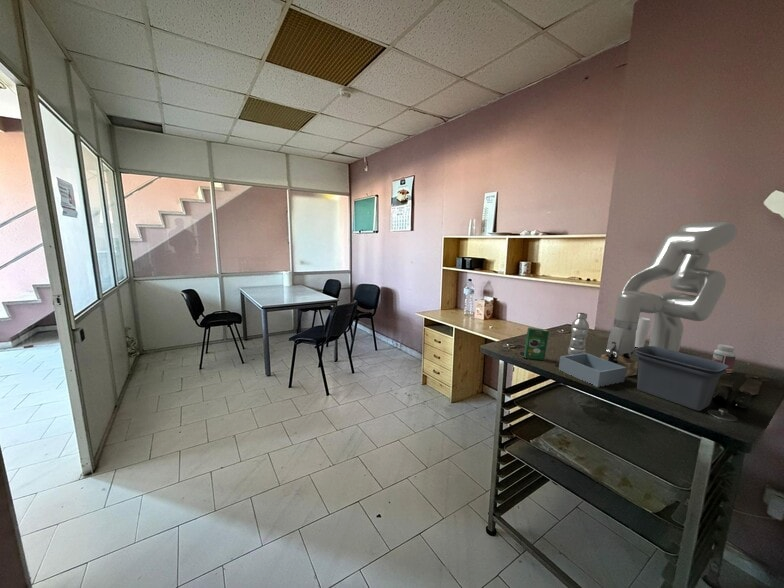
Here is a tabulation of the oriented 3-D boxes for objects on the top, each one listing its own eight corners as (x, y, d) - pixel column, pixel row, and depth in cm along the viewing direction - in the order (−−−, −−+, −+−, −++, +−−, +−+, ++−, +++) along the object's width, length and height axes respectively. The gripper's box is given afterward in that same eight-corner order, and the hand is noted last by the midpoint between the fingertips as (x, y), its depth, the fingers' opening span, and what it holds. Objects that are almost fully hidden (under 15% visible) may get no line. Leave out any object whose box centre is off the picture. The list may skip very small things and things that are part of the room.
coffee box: (543, 358, 135) (547, 328, 132) (545, 360, 132) (549, 330, 130) (523, 356, 136) (527, 327, 134) (524, 358, 133) (528, 328, 131)
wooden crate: (610, 364, 131) (612, 353, 130) (636, 374, 122) (638, 362, 121) (599, 366, 128) (600, 355, 127) (625, 376, 119) (627, 364, 118)
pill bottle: (730, 371, 130) (736, 346, 128) (732, 376, 125) (739, 349, 123) (709, 367, 134) (714, 342, 132) (710, 371, 129) (716, 345, 127)
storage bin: (623, 387, 109) (630, 348, 107) (644, 379, 117) (651, 343, 115) (706, 418, 91) (717, 372, 89) (724, 407, 99) (734, 364, 97)
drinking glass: (646, 350, 152) (651, 320, 150) (628, 347, 156) (634, 318, 153) (644, 347, 158) (650, 318, 155) (627, 344, 162) (633, 315, 159)
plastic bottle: (587, 361, 134) (595, 315, 130) (571, 360, 134) (578, 314, 130) (579, 355, 140) (585, 312, 137) (563, 355, 140) (570, 311, 137)
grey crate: (583, 365, 128) (585, 352, 127) (624, 381, 114) (626, 367, 113) (558, 369, 123) (560, 356, 122) (597, 387, 109) (600, 372, 108)
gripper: (628, 320, 128) (621, 362, 131) (600, 323, 122) (594, 367, 125) (649, 325, 122) (641, 369, 125) (621, 328, 115) (613, 374, 118)
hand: (617, 367), depth 125 cm, fingers closed on wooden crate, 7 cm apart
